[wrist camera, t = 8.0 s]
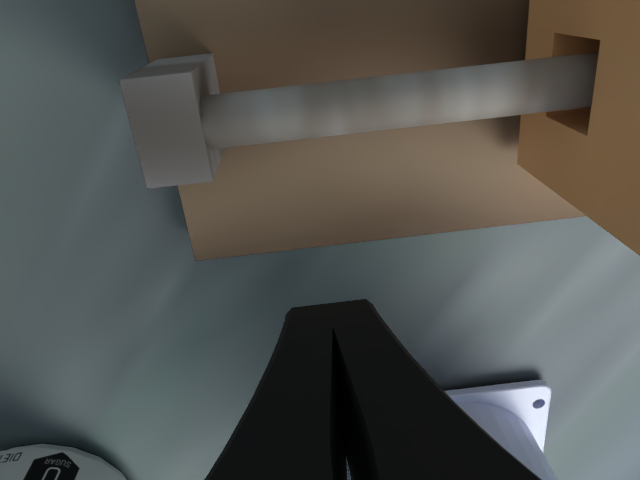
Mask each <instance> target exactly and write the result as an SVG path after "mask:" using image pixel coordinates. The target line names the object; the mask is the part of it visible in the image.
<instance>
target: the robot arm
mask: <svg viewBox="0 0 640 480" xmlns="http://www.w3.org/2000/svg"><path fill="white" fill-rule="evenodd" d="M550 398H551V389H550V387H549V386H548V384H547V383H546V382H545V381H543V380H532V381H524V382H515V383H507V384H498V385H490V386H481V387H473V388H465V389H456V390H448V391H443V390H442V388H441V387H440V386H439V385H438V384H437V383H436V382H435V381H434V380H433V379H432V378H431V377H430V376H429V374H428V373H427V372H426V371H425V370H424V369H423V368H422V367H421V366H420V365H419V363H418V362H417V361H416V360H415V359H414V358H413V357H412V356H411V354H410V353H409V352H408V351H407V350H406V349H405V347H404V346H403V345H402V344H401V342H400V341H399V340H398V339H397V338H396V336H395V335H394V334H393V333H392V331H391V330H390V329H389V327H388V326H387V325H386V323H385V322H384V321H383V319H382V318H381V316H380V315H379V313H378V312H377V311H376V309H375V307H374V306H373V304H371V303H370V302H369V301H368V300H366V299H363V300H354V301H346V302H337V303H328V304H320V305H311V306H303V307H294V308H291V310H290V311H289V312H288V313H287V314H286V317H285V321H284V325H283V328H282V331H281V334H280V337H279V339H278V342H277V344H276V347H275V349H274V352H273V354H272V357H271V359H270V361H269V364H268V366H267V368H266V370H265V372H264V374H263V376H262V378H261V380H260V383H259V385H258V387H257V389H256V391H255V393H254V395H253V397H252V399H251V401H250V403H249V405H248V407H247V409H246V410H245V412H244V414H243V416H242V417H241V419H240V421H239V423H238V425H237V426H236V428H235V430H234V432H233V433H232V435H231V437H230V439H229V441H228V442H227V444H226V446H225V448H224V449H223V451H222V453H221V454H220V456H219V458H218V459H217V461H216V462H215V464H214V466H213V467H212V469H211V470H210V472H209V474H208V475H207V477H206V478H205V480H347V465H346V457H347V461H348V466H349V470H350V475H351V479H352V480H558V479H557V477H556V475H555V474H554V472H553V470H552V468H551V467H550V465H549V463H548V461H547V459H546V458H545V456H544V454H543V450H544V442H545V435H546V428H547V420H548V413H549V406H550ZM538 399H539V400H538ZM536 400H538V401H536ZM534 401H535V402H534Z"/></svg>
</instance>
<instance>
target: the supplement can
mask: <svg viewBox="0 0 640 480" xmlns="http://www.w3.org/2000/svg"><path fill="white" fill-rule="evenodd" d="M0 480H126V478H125V477H124V475H123V474H122V473H121V472H120V471H119V470H117V469H116V468H115V467H113V466H112V465H110V464H109V463H108V462H106V461H105V460H103V459H102V458H101V457H98V456H95V455H93V454H90V453H87V452H84V451H82V450H79V449H76V448H73V447H67V446H58V445H49V444H36V445H28V446H21V447H14V448H11V449H9V450H5V451H0Z"/></svg>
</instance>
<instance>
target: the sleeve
mask: <svg viewBox="0 0 640 480" xmlns="http://www.w3.org/2000/svg"><path fill="white" fill-rule="evenodd" d="M594 52H599V55H598V62H597V69H596V77H595V84H594V91H593V98H592V106H591V107H586V108H577V109H568V110H559V111H550V112H542V113H533V114H524V115H521V118H520V131H519V144H518V157H517V164H518V165H519V166H520V167H522V168H523V169H524V170H526V171H527V172H528V173H530V174H531V175H532V176H534V177H535V178H536V179H538V180H539V181H541V182H542V183H543V184H545V185H546V186H547V187H549V188H550V189H551V190H553V191H554V192H555V193H557V194H558V195H559V196H561V197H562V198H563V199H565V200H566V201H567V202H569V203H570V204H571V205H573V206H574V207H575V208H577V209H578V210H579V211H581V212H582V213H583V214H585V215H586V216H587V217H589V218H590V219H591V220H593V221H594V222H595V223H597V224H598V225H599V226H601V227H602V228H603V229H605V230H606V231H607V232H609V233H610V234H611V235H613V236H614V237H615V238H617V239H618V240H619V241H621V242H622V243H623V244H625V245H626V246H627V247H629V248H630V249H632V250H633V251H634V252H636V253H637V254H638V255H640V0H530V2H529V15H528V28H527V41H526V54H525V60H531V59H540V58H549V57H558V56H567V55H576V54H585V53H594Z"/></svg>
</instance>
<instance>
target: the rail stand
mask: <svg viewBox="0 0 640 480" xmlns="http://www.w3.org/2000/svg"><path fill="white" fill-rule="evenodd" d="M134 1H135V5H136V10H137V14H138V18H139V22H140V27H141V31H142V35H143V40H144V44H145V48H146V52H147V57H148V61H149V64H148V65H146V66H144V67H142V68H140V69H138V70H137V71H135V72H133V73H131V74H129V75H127V76H125V77H124V78H122V79H120V80H119V83H120V87H121V91H122V95H123V99H124V102H125V106H126V110H127V114H128V118H129V121H130V125H131V129H132V133H133V137H134V140H135V144H136V148H137V152H138V156H139V159H140V163H141V167H142V171H143V175H144V179H145V182H146V186H147V189H150V188H159V187H168V186H177V185H178V189H179V194H180V198H181V202H182V206H183V211H184V215H185V219H186V223H187V228H188V232H189V236H190V241H191V245H192V249H193V253H194V258H195V261H199V260H208V259H216V258H225V257H234V256H243V255H251V254H260V253H269V252H278V251H286V250H295V249H304V248H312V247H321V246H330V245H339V244H347V243H356V242H365V241H373V240H382V239H391V238H400V237H408V236H417V235H426V234H435V233H443V232H452V231H461V230H469V229H478V228H487V227H496V226H504V225H513V224H522V223H530V222H539V221H548V220H557V219H565V218H574V217H583V216H586V215H585V214H583V213H582V212H581V211H579V210H578V209H577V208H575V207H574V206H573V205H571V204H570V203H569V202H567V201H566V200H565V199H563V198H562V197H561V196H559V195H558V194H557V193H555V192H554V191H553V190H551V189H550V188H549V187H547V186H546V185H545V184H543V183H542V182H541V181H539V180H538V179H536V178H535V177H534V176H532V175H531V174H530V173H528V172H527V171H526V170H524V169H523V168H522V167H520V166H519V165H518V164H517V157H518V144H519V131H520V118H521V115H524V114H533V113H542V112H550V111H559V110H568V109H577V108H586V107H591V106H592V98H593V91H594V84H595V77H596V69H597V62H598V55H599V52H594V53H585V54H576V55H567V56H558V57H549V58H540V59H531V60H525V54H526V41H527V28H528V15H529V2H530V0H134Z"/></svg>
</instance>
